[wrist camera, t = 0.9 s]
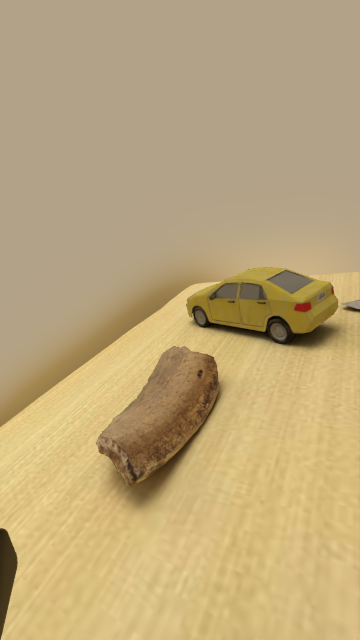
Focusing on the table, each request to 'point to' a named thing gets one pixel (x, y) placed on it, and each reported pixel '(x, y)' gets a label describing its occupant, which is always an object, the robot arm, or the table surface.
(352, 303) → the terrain model
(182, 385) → the fossil
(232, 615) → the table surface
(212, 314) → the toy car
